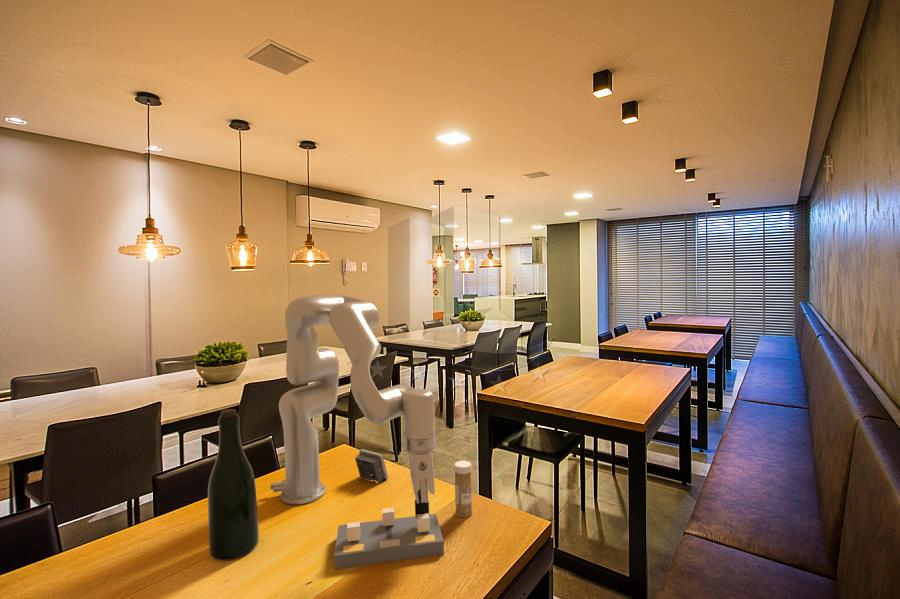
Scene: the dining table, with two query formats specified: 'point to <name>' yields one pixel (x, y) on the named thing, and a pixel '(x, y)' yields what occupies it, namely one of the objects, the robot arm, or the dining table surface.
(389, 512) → the slider middle
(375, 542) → the switch panel
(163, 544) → the dining table surface
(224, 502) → the beer bottle
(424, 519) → the slider right
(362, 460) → the electrical switch
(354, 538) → the slider left
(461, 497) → the sprinkles bottle
